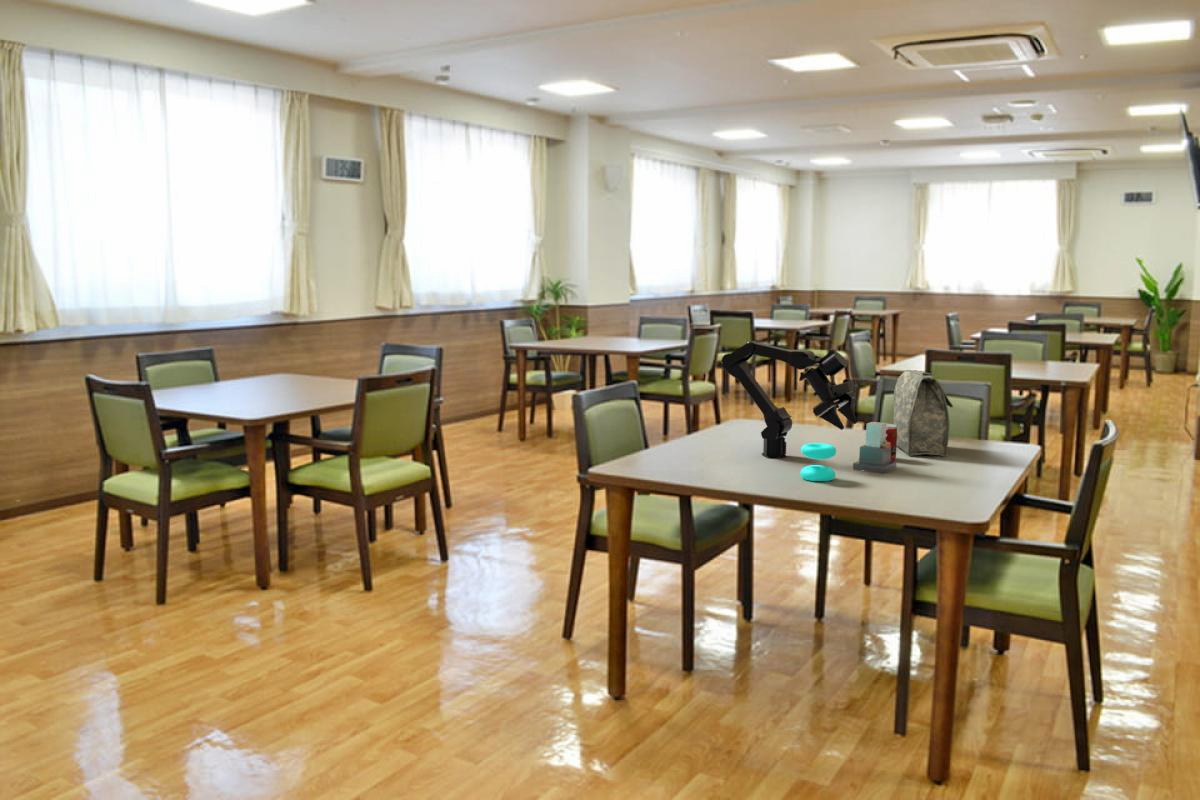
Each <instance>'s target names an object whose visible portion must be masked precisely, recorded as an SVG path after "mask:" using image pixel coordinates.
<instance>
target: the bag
mask: <svg viewBox="0 0 1200 800" xmlns="http://www.w3.org/2000/svg"><path fill="white" fill-rule="evenodd" d="M948 407H950V408H954V405H953V403H952V402H951V401H950V399H949V397H948V396H947V393H946V392H945V390H944V388H943V386H942V385H941V383H940V381H939V380H938V379H936V378H935V377H934V376H932V375H931V373H930V372H925V371H923V370H917V369H915V370H914V369H913V370H911V369H908V370H907V369H905V370H904V371H903V372H902V373H901V374H900V376H899V377H898V378H897V380H896V383H895V386H894V391H893V423H892V424H893V425H897V447H896V448H898V449H901V450H902V451H903V452H905V453H906V454H907V455H908V456H909V457H913V456H922V455H929V456H940V457H943V456H947V457H948V455H949V454H948V445H949V440H950V439H949V437H950V436H949V435H950V426H951V425H950V423H951V421H950V415H949V409H948Z"/></svg>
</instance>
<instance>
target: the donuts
mask: <svg viewBox="0 0 1200 800" xmlns="http://www.w3.org/2000/svg"><path fill="white" fill-rule="evenodd" d="M800 449H801V450H800V451H801V453H802V455H803V456H805V457H807V458H808V459H813V460H828V459H831V458H832V457H834V456H835V455H836V453H837V449H836V447H835V446H834V445H833V444H828V443H822V442H812V443H811V442H810V443H805V444H803V445H802V446H801V448H800ZM800 476H801V478H802V479H803V480H805V481H810V482H815V481H825V482H830V480H831V481H832V480H834V479H835V478H836V472H835V470H834V469H833V468H832V467H830V466H826V465H823V464H822V465H821V464H820V465H819V464H818V465H817V464H814V465H813V464H812V465H807V466H804V467H802V469H801V470H800Z"/></svg>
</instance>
